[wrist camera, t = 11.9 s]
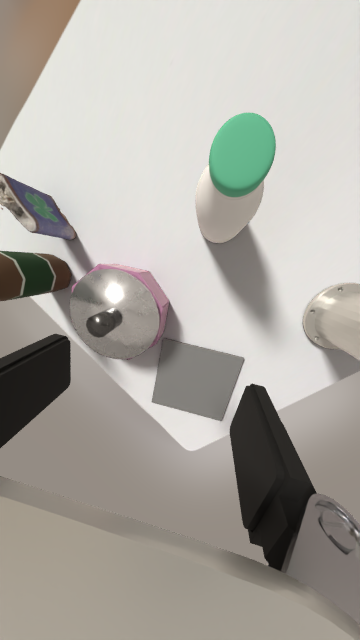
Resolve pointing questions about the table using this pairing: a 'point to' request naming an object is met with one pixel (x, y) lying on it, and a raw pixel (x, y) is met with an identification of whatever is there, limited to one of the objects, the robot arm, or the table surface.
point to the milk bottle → (234, 176)
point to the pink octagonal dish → (152, 286)
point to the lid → (114, 313)
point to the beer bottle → (31, 274)
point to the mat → (195, 379)
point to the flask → (34, 209)
